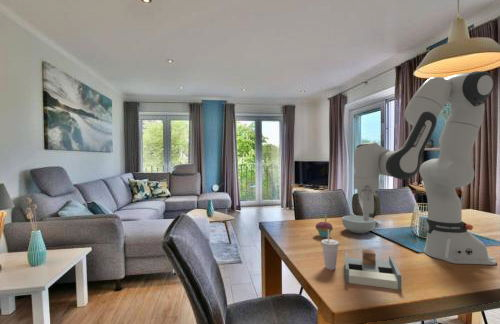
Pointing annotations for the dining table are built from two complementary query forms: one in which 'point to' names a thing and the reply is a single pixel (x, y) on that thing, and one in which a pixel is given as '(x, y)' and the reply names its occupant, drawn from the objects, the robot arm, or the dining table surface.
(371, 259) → the terracotta block
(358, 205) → the tabletop clock
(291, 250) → the dining table surface
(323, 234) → the cupcake
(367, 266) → the board
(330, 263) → the smoothie
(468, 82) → the robot arm
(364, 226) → the cereal bowl
